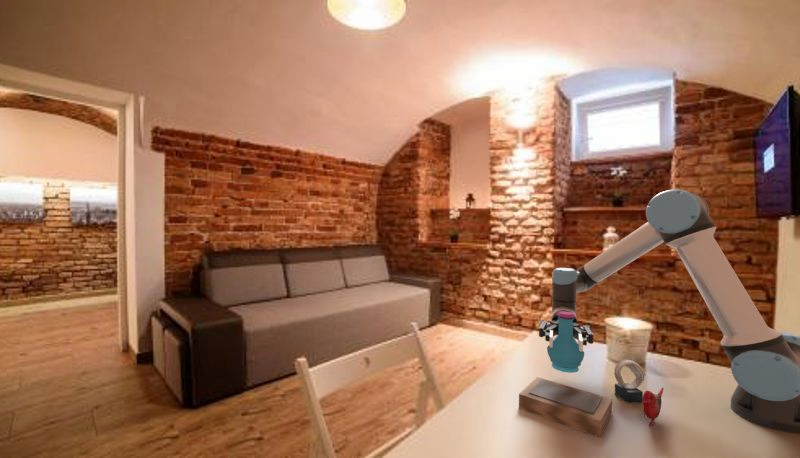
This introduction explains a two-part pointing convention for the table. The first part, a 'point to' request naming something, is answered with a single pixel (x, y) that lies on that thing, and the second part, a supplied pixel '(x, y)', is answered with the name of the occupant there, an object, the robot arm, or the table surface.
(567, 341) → the perfume bottle
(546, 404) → the walnut stand
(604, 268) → the robot arm
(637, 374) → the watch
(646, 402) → the decorative bird figurine
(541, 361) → the table surface
